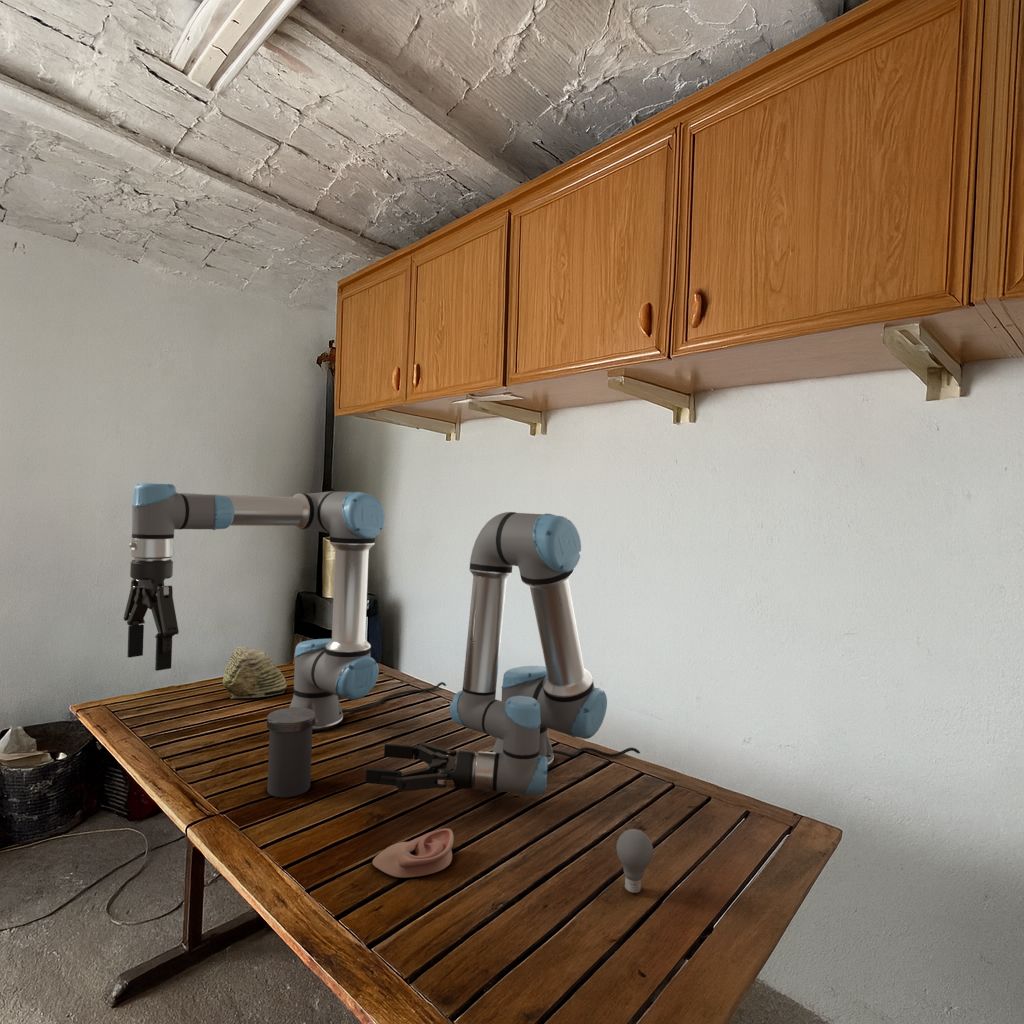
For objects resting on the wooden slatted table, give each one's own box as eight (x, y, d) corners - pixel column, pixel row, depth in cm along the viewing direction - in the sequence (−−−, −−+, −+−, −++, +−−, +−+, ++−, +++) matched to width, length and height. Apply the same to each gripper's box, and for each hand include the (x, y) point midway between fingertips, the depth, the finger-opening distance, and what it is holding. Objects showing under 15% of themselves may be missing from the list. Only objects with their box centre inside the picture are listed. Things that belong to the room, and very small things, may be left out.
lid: (319, 729, 135) (319, 719, 135) (269, 735, 130) (270, 725, 130) (310, 714, 144) (311, 705, 144) (264, 719, 139) (264, 710, 139)
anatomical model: (365, 849, 107) (391, 816, 119) (364, 872, 107) (390, 837, 119) (440, 861, 105) (459, 827, 116) (439, 885, 105) (459, 848, 116)
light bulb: (610, 879, 108) (613, 822, 108) (644, 879, 109) (647, 822, 109) (619, 902, 102) (622, 840, 102) (655, 901, 103) (658, 840, 103)
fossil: (218, 695, 195) (220, 647, 195) (278, 685, 208) (279, 640, 207) (228, 703, 189) (230, 653, 188) (289, 692, 201) (290, 645, 201)
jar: (313, 793, 135) (316, 721, 135) (269, 800, 131) (272, 726, 131) (306, 776, 143) (309, 708, 143) (264, 782, 139) (267, 712, 139)
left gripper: (108, 554, 134) (104, 654, 134) (159, 565, 118) (155, 678, 119) (146, 552, 140) (143, 648, 140) (199, 563, 124) (195, 671, 124)
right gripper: (464, 816, 122) (356, 807, 123) (480, 764, 146) (390, 756, 148) (466, 777, 121) (358, 768, 123) (482, 731, 146) (392, 724, 148)
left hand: (148, 662), depth 129 cm, fingers open, 13 cm apart
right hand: (375, 762), depth 136 cm, fingers open, 13 cm apart
